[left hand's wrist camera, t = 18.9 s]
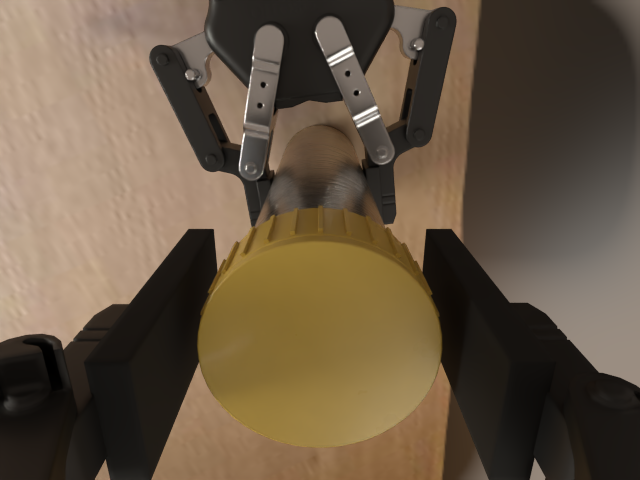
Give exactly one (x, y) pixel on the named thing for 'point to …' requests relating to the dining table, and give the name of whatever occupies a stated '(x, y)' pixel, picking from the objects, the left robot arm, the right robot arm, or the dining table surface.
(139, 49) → the dining table surface
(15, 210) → the dining table surface
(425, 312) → the lid
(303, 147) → the bottle
